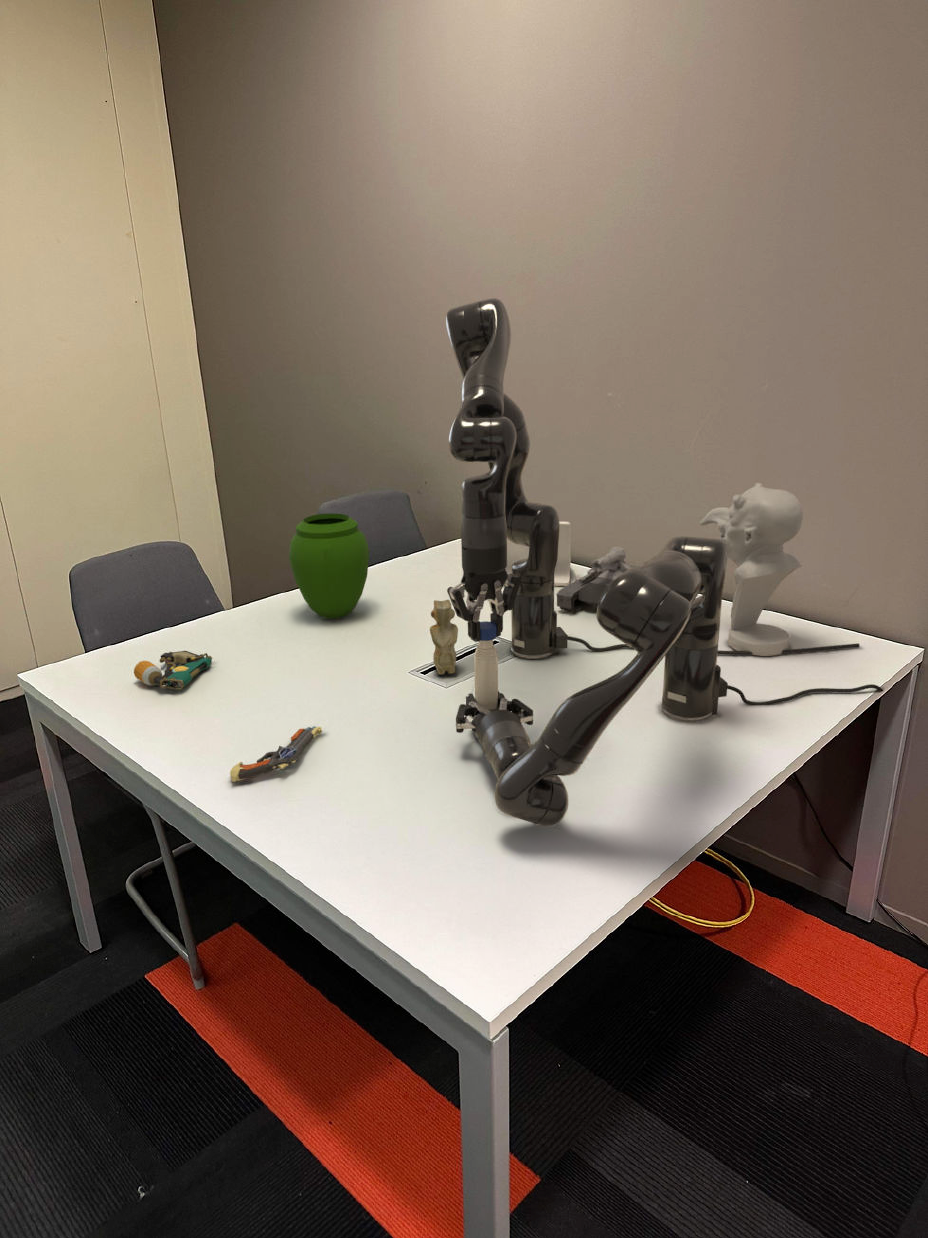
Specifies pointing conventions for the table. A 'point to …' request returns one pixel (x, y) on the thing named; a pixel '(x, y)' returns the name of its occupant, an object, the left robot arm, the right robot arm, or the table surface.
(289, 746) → the toy gun
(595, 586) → the toy
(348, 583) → the vase
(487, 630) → the cap
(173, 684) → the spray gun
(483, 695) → the bottle
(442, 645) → the sculpture
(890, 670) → the table surface
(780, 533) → the bust sculpture
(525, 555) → the tablet stand
